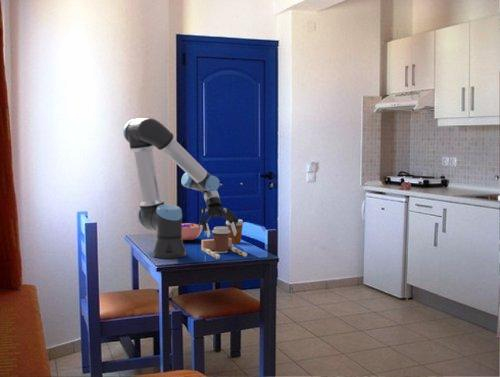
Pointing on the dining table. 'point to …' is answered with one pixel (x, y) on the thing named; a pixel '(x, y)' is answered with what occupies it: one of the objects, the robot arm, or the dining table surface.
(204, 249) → the track rails
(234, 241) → the disposable coffee cup
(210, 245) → the end stop
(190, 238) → the cell model
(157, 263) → the dining table surface
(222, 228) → the coffee cup
